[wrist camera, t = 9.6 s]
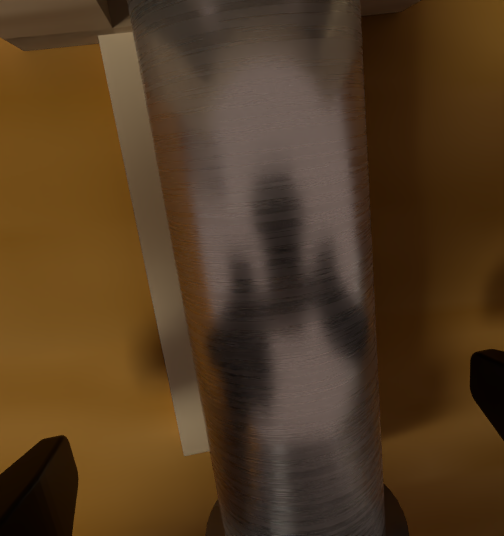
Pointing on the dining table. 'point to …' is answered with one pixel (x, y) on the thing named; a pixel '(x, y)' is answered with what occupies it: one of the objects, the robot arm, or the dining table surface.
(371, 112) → the dining table surface
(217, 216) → the shaft
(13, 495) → the robot arm
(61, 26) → the bearing bed
